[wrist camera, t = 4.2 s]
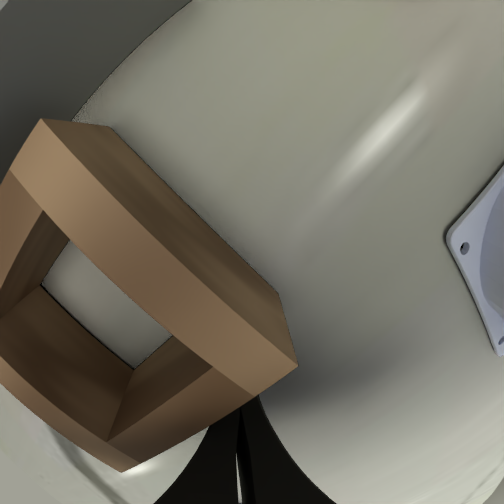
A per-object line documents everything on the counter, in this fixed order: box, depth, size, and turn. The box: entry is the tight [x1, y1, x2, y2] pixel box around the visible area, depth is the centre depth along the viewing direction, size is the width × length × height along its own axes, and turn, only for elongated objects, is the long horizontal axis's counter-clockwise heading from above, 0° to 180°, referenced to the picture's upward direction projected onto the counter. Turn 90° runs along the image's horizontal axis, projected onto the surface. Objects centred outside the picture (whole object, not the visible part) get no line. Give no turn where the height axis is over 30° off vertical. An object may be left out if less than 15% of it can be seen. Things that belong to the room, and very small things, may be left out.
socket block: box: [0, 118, 298, 473], centre depth 9 cm, size 8×8×4 cm
